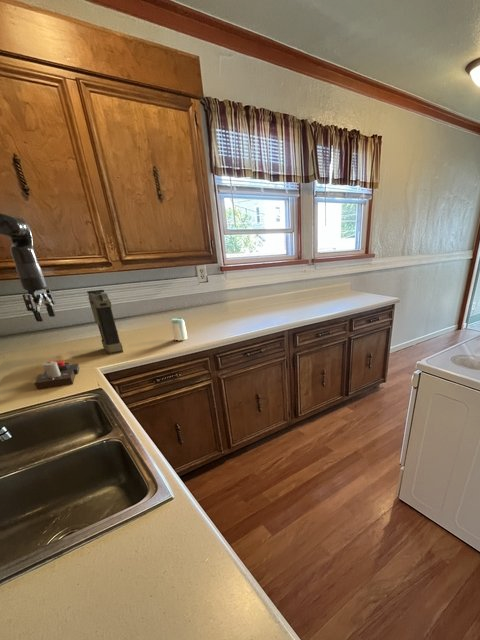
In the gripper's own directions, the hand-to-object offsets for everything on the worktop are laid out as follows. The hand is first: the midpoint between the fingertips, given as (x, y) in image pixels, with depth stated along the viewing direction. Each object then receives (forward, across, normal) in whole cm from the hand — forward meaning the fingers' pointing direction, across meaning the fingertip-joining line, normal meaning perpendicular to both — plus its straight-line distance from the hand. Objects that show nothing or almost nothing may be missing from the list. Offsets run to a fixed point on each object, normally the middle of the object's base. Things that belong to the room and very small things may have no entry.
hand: (46, 318), depth 130 cm
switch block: (+24, -2, -3) cm, 25 cm away
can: (+24, -49, +38) cm, 67 cm away
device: (+24, -34, +6) cm, 42 cm away
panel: (+24, +8, 0) cm, 26 cm away
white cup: (+21, +8, 0) cm, 23 cm away
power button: (+21, -2, -3) cm, 21 cm away
